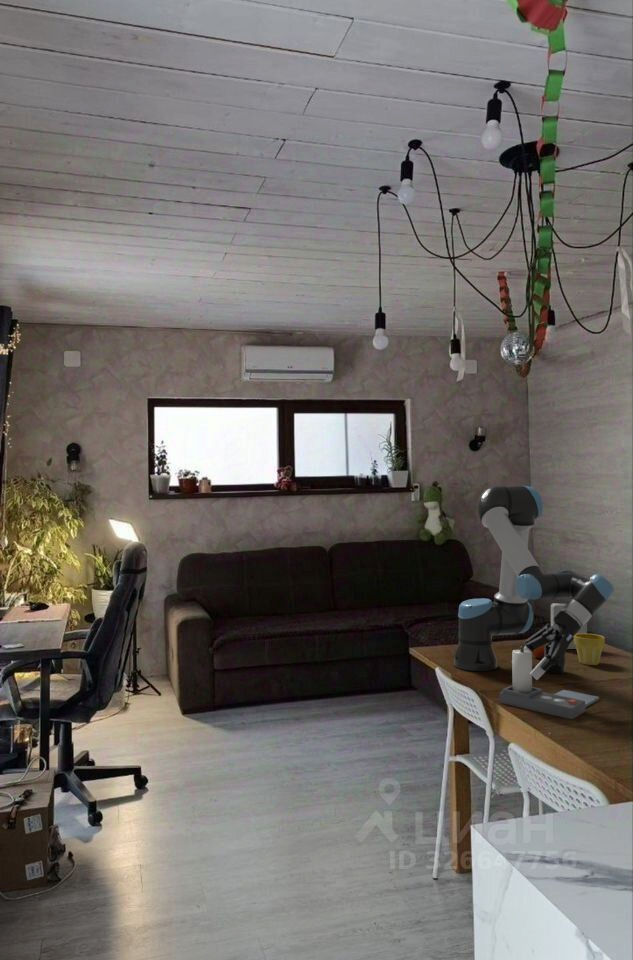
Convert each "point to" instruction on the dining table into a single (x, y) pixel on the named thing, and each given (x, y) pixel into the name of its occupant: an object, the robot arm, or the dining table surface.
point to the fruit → (539, 652)
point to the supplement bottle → (555, 667)
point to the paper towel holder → (521, 670)
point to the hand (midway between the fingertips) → (523, 670)
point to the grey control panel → (543, 702)
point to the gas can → (554, 611)
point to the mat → (578, 696)
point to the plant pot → (589, 648)
